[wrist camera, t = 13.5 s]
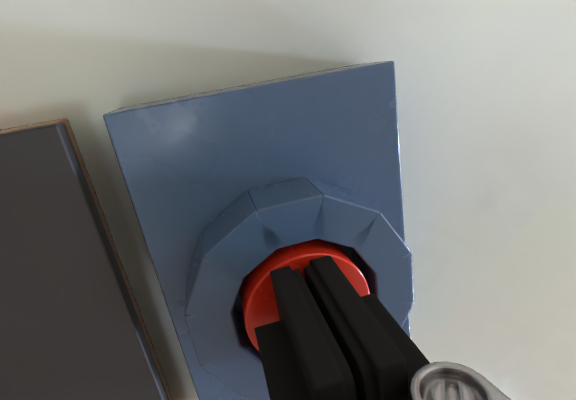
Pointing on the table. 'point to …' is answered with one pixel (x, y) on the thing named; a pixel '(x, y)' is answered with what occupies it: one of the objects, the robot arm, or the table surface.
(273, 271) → the robot arm
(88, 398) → the lid
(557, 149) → the table surface
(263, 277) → the red push button
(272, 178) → the button box
